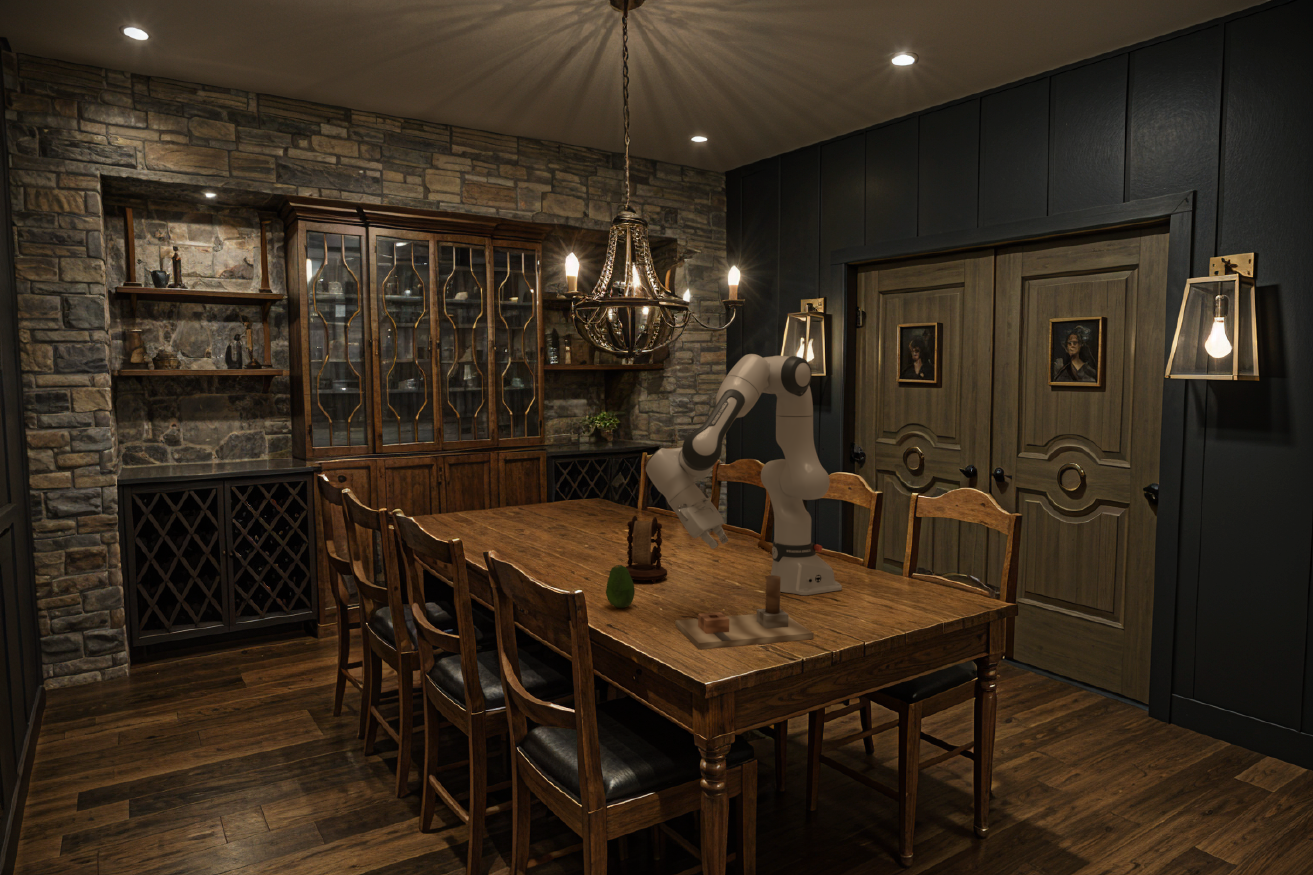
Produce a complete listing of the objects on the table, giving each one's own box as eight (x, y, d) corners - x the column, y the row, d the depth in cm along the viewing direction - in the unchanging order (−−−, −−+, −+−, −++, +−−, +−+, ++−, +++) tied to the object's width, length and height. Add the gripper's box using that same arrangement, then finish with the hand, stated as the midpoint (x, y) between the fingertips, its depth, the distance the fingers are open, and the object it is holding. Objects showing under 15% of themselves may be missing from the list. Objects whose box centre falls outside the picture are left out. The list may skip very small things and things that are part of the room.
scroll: (614, 582, 248) (614, 518, 246) (629, 571, 262) (630, 511, 260) (659, 586, 243) (660, 521, 242) (672, 575, 258) (673, 514, 256)
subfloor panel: (781, 617, 214) (782, 600, 214) (813, 638, 197) (814, 620, 196) (675, 625, 205) (675, 608, 205) (698, 649, 188) (699, 629, 188)
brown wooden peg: (775, 620, 205) (776, 574, 204) (781, 624, 202) (783, 578, 201) (762, 621, 204) (764, 575, 203) (768, 625, 201) (769, 579, 200)
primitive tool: (792, 559, 285) (792, 549, 284) (779, 560, 282) (779, 550, 282) (765, 548, 302) (765, 539, 302) (752, 549, 300) (752, 539, 300)
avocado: (609, 602, 225) (609, 561, 224) (636, 604, 224) (637, 562, 223) (602, 611, 217) (603, 567, 216) (631, 612, 216) (631, 569, 215)
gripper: (684, 498, 200) (718, 542, 197) (708, 492, 219) (740, 532, 216) (666, 514, 202) (700, 557, 199) (692, 506, 221) (722, 546, 218)
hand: (721, 544), depth 208 cm, fingers open, 8 cm apart
